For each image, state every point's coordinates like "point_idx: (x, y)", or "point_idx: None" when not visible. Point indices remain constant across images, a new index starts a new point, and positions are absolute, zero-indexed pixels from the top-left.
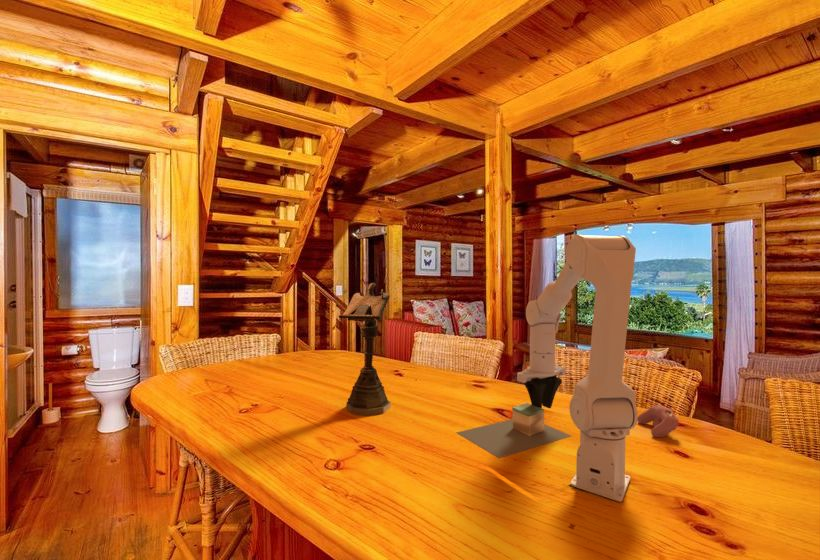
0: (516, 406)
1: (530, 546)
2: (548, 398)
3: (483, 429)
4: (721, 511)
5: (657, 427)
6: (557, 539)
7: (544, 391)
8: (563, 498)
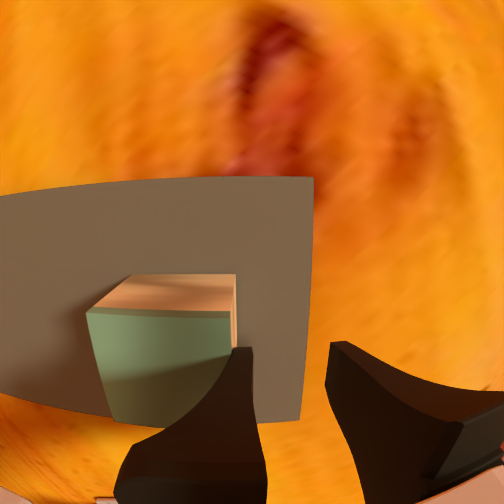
0: (115, 319)
1: (2, 486)
2: (346, 412)
3: (22, 222)
4: None
5: None
6: None
7: (369, 409)
8: (68, 496)
